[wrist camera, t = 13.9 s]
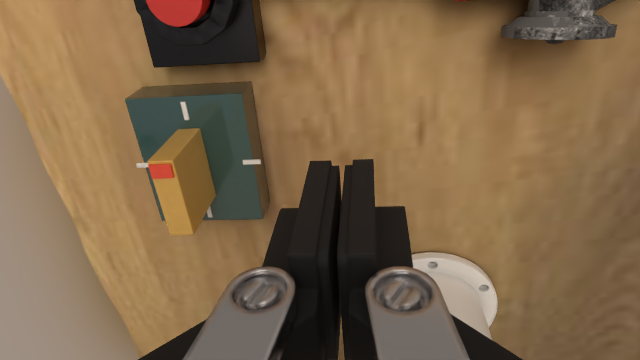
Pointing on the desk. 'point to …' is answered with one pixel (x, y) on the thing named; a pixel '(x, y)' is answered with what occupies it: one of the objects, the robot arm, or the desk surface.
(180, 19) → the stop button
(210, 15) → the switch box
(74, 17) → the desk surface
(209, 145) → the block
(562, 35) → the valve
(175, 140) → the tap handle
